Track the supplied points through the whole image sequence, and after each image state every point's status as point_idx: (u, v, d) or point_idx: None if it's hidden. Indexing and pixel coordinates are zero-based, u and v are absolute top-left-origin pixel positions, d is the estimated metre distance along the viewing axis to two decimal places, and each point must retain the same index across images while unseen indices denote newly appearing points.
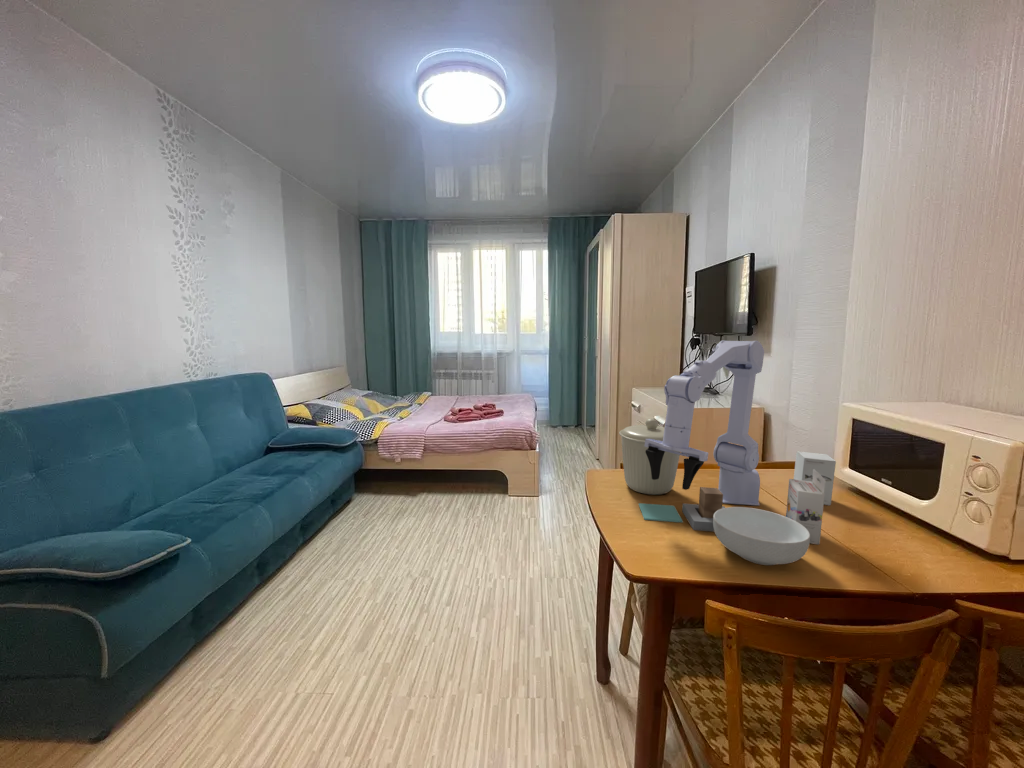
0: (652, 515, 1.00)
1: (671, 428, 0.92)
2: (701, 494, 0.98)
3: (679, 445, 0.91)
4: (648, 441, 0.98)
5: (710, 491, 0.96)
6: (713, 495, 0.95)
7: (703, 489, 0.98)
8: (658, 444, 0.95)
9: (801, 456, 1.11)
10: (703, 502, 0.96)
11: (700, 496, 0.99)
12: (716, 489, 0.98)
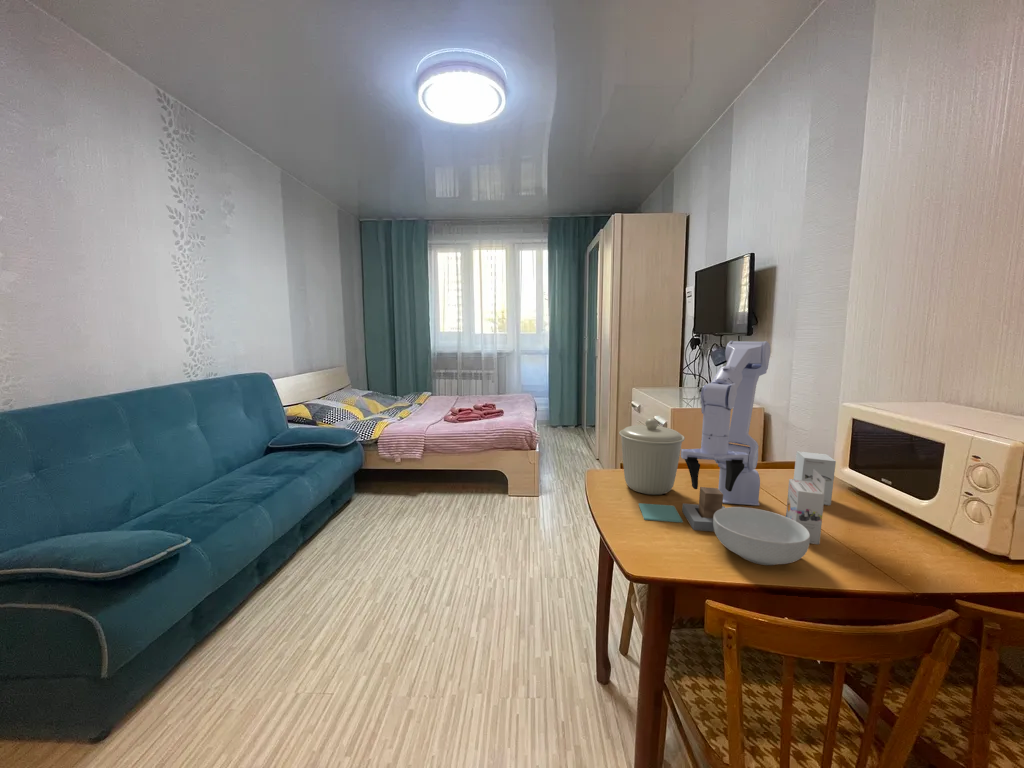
0: (652, 515, 1.00)
1: (719, 438, 0.93)
2: (701, 494, 0.98)
3: (726, 452, 0.93)
4: (687, 453, 0.96)
5: (711, 491, 0.96)
6: (713, 495, 0.95)
7: (703, 489, 0.98)
8: (703, 455, 0.94)
9: (801, 456, 1.11)
10: (703, 502, 0.96)
11: (700, 496, 0.99)
12: (716, 489, 0.98)
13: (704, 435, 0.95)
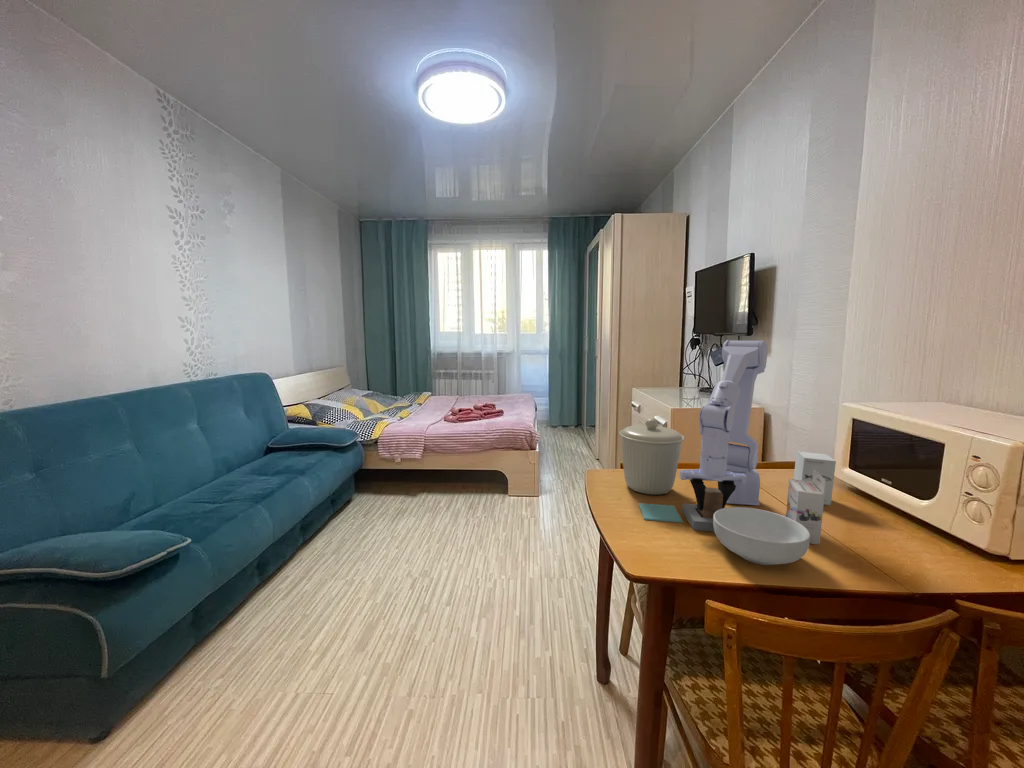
0: (652, 515, 1.00)
1: (717, 460, 0.93)
2: None
3: (724, 474, 0.94)
4: (686, 474, 0.96)
5: (711, 491, 0.96)
6: (713, 495, 0.95)
7: None
8: (701, 476, 0.95)
9: (801, 456, 1.11)
10: (703, 502, 0.96)
11: None
12: (716, 489, 0.98)
13: (703, 456, 0.95)
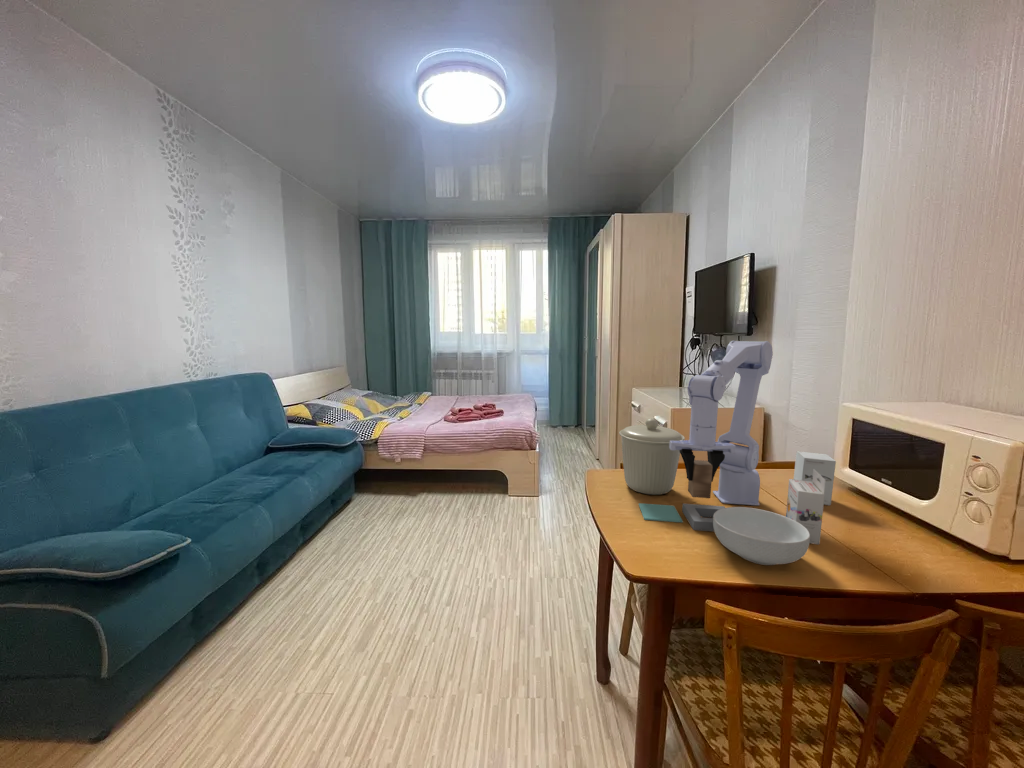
0: (652, 515, 1.00)
1: (706, 429, 0.93)
2: None
3: (713, 443, 0.94)
4: (675, 444, 0.97)
5: (700, 463, 0.96)
6: (703, 466, 0.95)
7: None
8: (691, 446, 0.95)
9: (801, 456, 1.11)
10: (693, 474, 0.96)
11: None
12: (706, 461, 0.98)
13: (692, 426, 0.96)
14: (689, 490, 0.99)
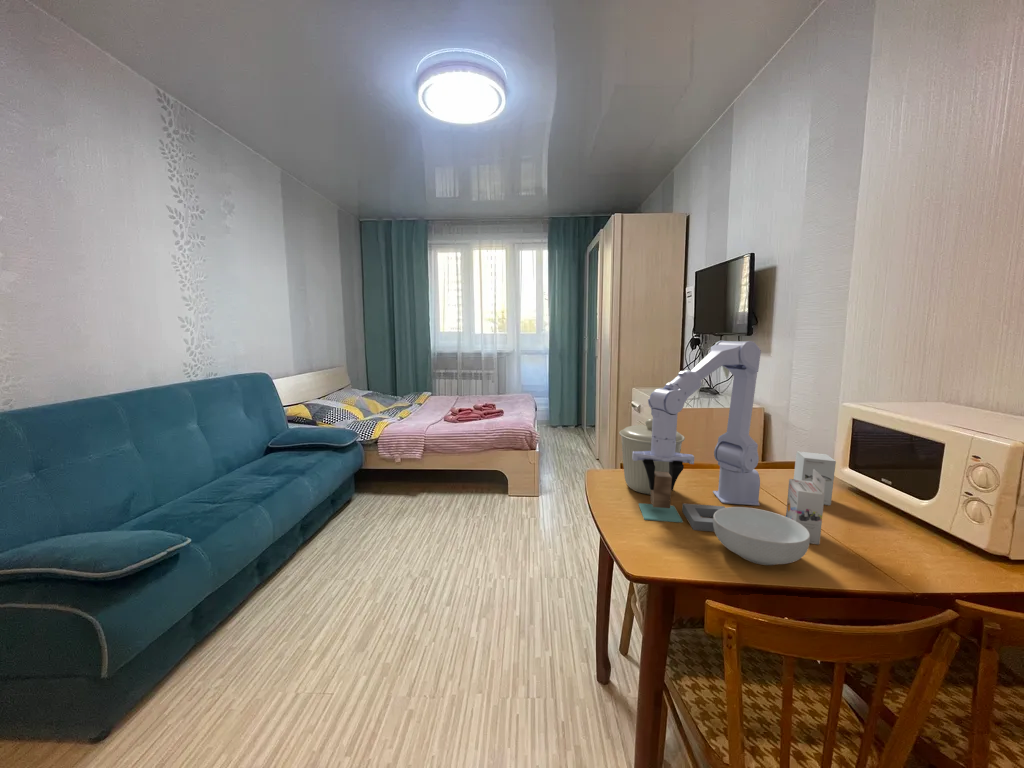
0: (652, 515, 1.00)
1: (665, 440, 0.97)
2: None
3: (672, 454, 0.98)
4: (637, 455, 1.01)
5: (661, 475, 1.01)
6: (663, 478, 0.99)
7: (654, 473, 1.02)
8: (651, 457, 0.99)
9: (801, 456, 1.11)
10: None
11: None
12: (667, 473, 1.02)
13: (653, 438, 1.00)
14: (651, 500, 1.03)
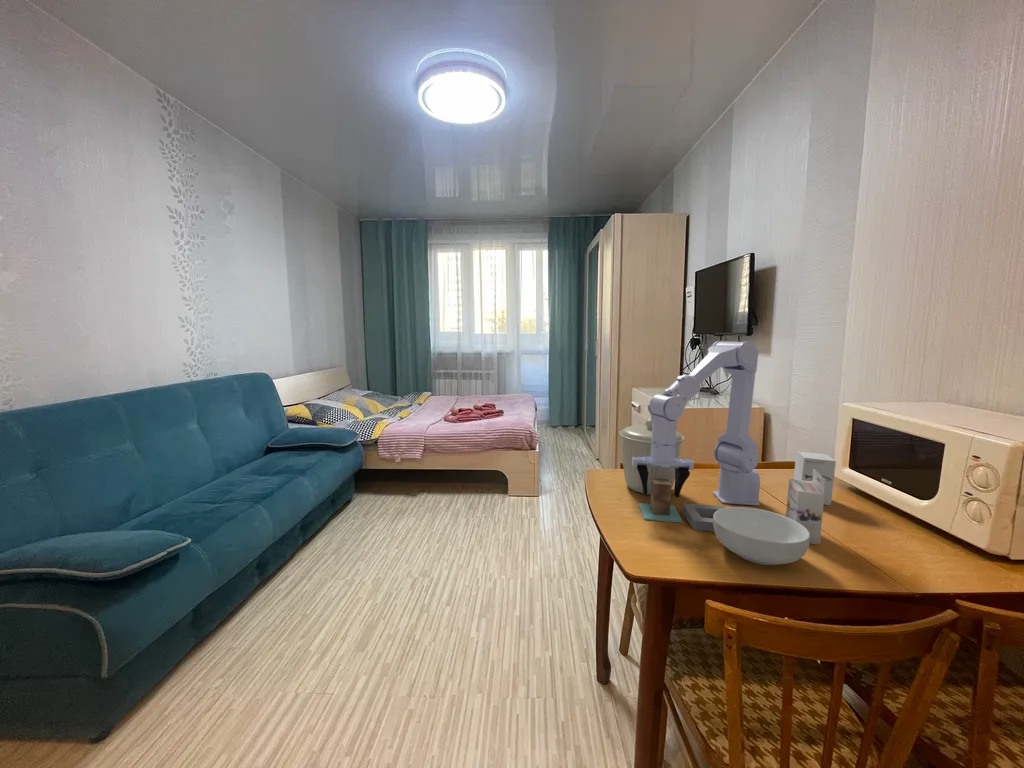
0: (652, 515, 1.00)
1: (665, 447, 0.98)
2: (652, 485, 1.02)
3: (672, 460, 0.98)
4: (637, 461, 1.01)
5: (660, 482, 1.01)
6: (662, 485, 1.00)
7: (654, 480, 1.02)
8: (651, 463, 0.99)
9: (801, 456, 1.11)
10: (653, 492, 1.01)
11: (651, 487, 1.03)
12: (666, 480, 1.02)
13: (652, 444, 1.00)
14: (651, 507, 1.04)
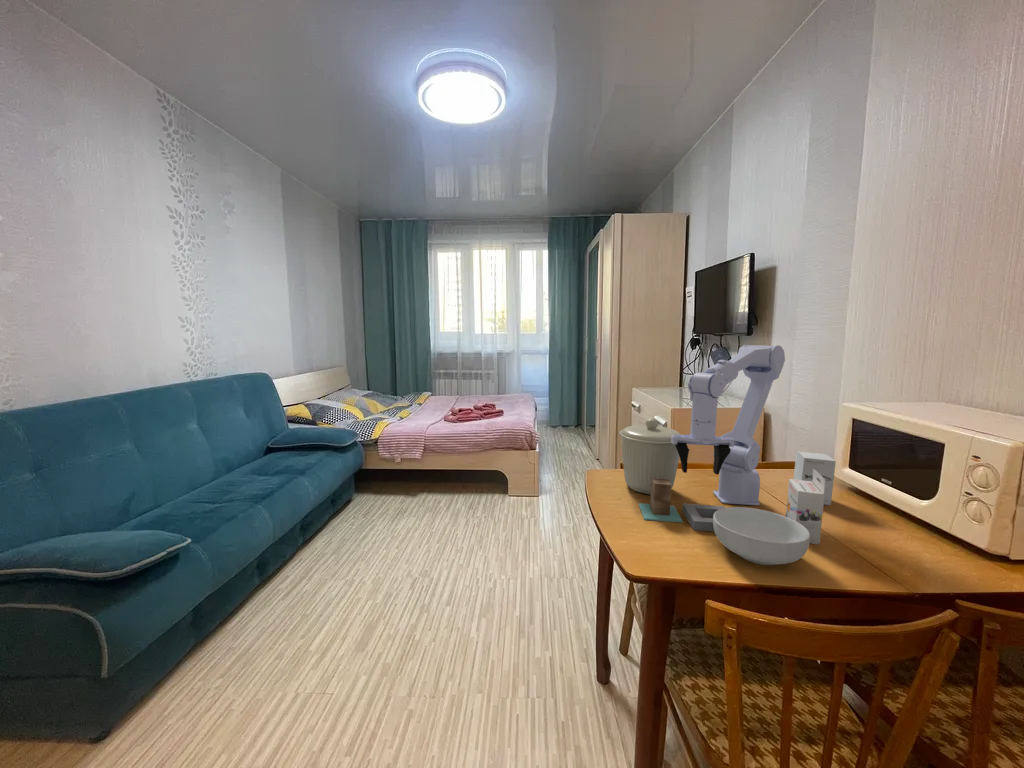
0: (652, 515, 1.00)
1: (706, 424, 0.98)
2: (652, 485, 1.02)
3: (713, 437, 0.99)
4: (677, 438, 1.02)
5: (660, 482, 1.01)
6: (662, 485, 1.00)
7: (654, 480, 1.02)
8: (692, 440, 1.00)
9: (801, 456, 1.11)
10: (653, 492, 1.01)
11: (651, 487, 1.03)
12: (666, 480, 1.02)
13: (693, 421, 1.01)
14: (651, 507, 1.04)
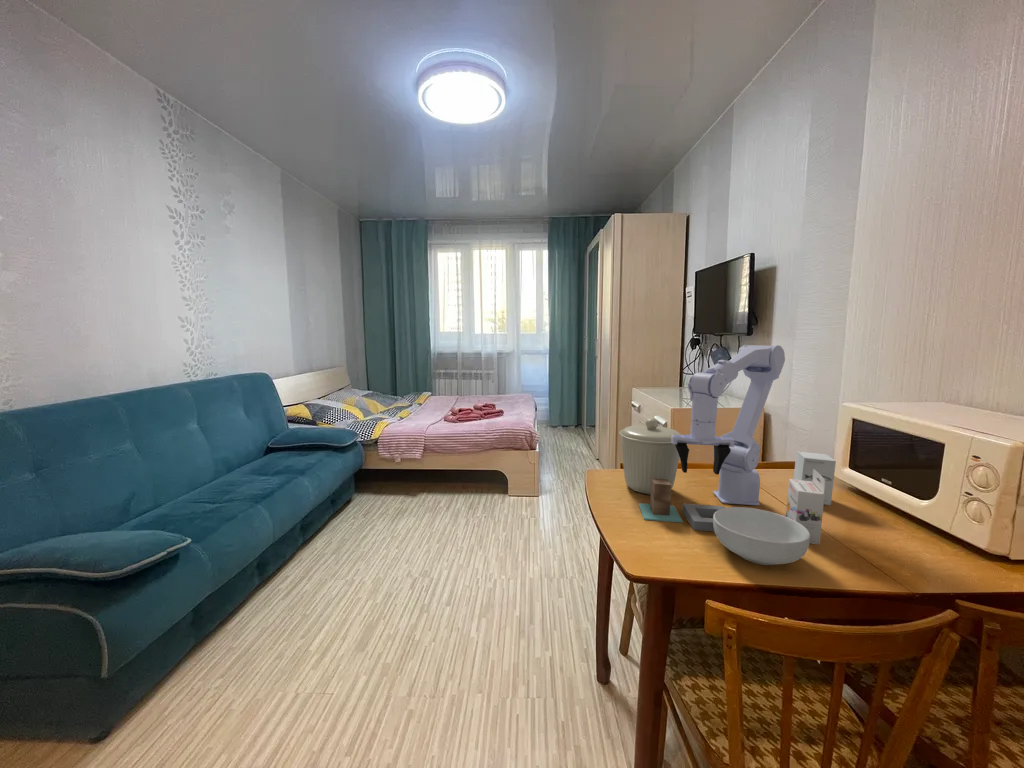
0: (652, 515, 1.00)
1: (706, 424, 0.98)
2: (652, 485, 1.02)
3: (713, 437, 0.99)
4: (677, 438, 1.02)
5: (660, 482, 1.01)
6: (662, 485, 1.00)
7: (654, 480, 1.02)
8: (692, 440, 1.00)
9: (801, 456, 1.11)
10: (653, 492, 1.01)
11: (651, 487, 1.03)
12: (666, 480, 1.02)
13: (693, 421, 1.01)
14: (651, 507, 1.04)
